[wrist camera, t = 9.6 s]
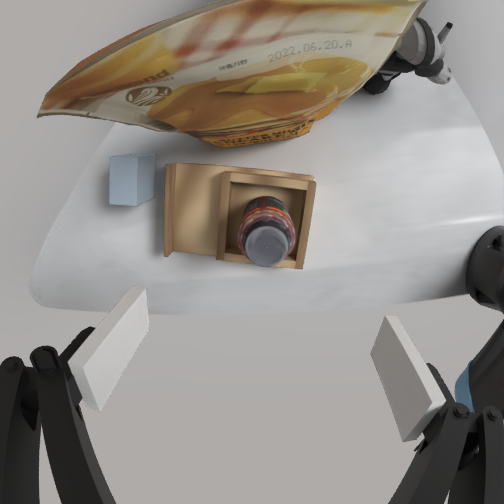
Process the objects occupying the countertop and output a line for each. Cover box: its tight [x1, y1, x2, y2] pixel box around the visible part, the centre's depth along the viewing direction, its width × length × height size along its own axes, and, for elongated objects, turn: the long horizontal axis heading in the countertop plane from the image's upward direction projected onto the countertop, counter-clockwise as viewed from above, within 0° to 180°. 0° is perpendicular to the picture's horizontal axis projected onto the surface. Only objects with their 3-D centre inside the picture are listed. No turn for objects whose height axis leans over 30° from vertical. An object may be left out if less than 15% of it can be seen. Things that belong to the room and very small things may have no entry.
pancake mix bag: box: [37, 0, 428, 148], centre depth 20 cm, size 7×19×28 cm, turn 100°
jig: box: [164, 163, 316, 269], centre depth 36 cm, size 18×12×4 cm, turn 84°
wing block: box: [109, 154, 156, 206], centre depth 34 cm, size 4×6×6 cm, turn 174°
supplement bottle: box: [237, 196, 295, 267], centre depth 31 cm, size 6×6×11 cm
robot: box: [363, 17, 453, 95], centre depth 21 cm, size 20×5×20 cm, turn 96°
